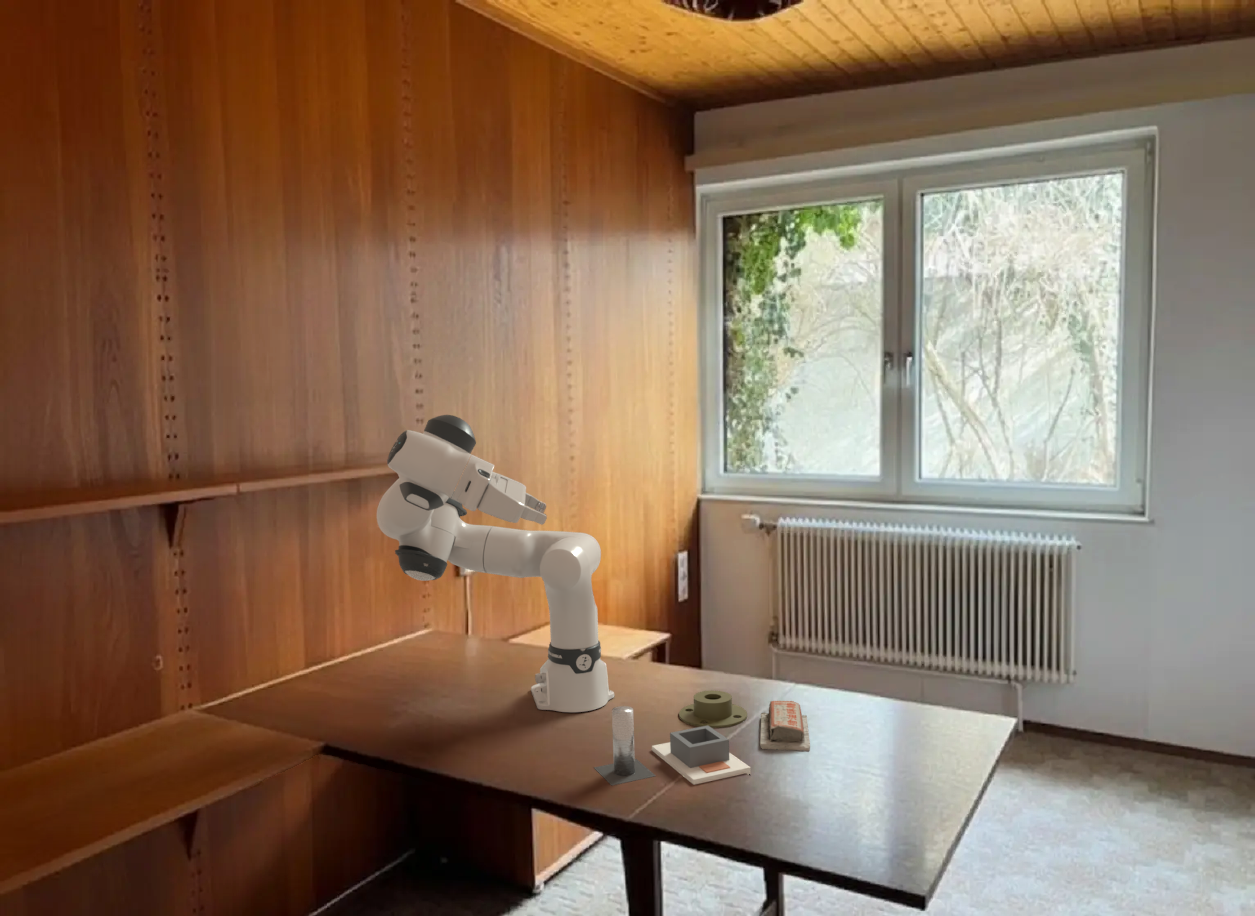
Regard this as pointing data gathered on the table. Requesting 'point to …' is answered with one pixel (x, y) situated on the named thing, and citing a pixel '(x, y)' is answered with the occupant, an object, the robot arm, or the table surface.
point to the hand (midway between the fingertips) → (545, 514)
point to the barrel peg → (623, 740)
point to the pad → (614, 779)
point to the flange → (713, 710)
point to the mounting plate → (700, 755)
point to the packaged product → (784, 727)
